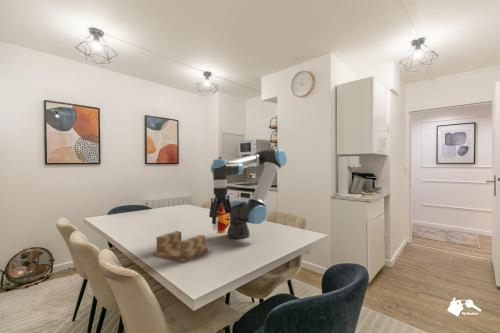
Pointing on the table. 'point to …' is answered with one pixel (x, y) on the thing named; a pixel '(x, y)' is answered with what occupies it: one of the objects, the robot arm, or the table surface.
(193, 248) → the notched wooden block
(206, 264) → the table surface
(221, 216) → the potion bottle
